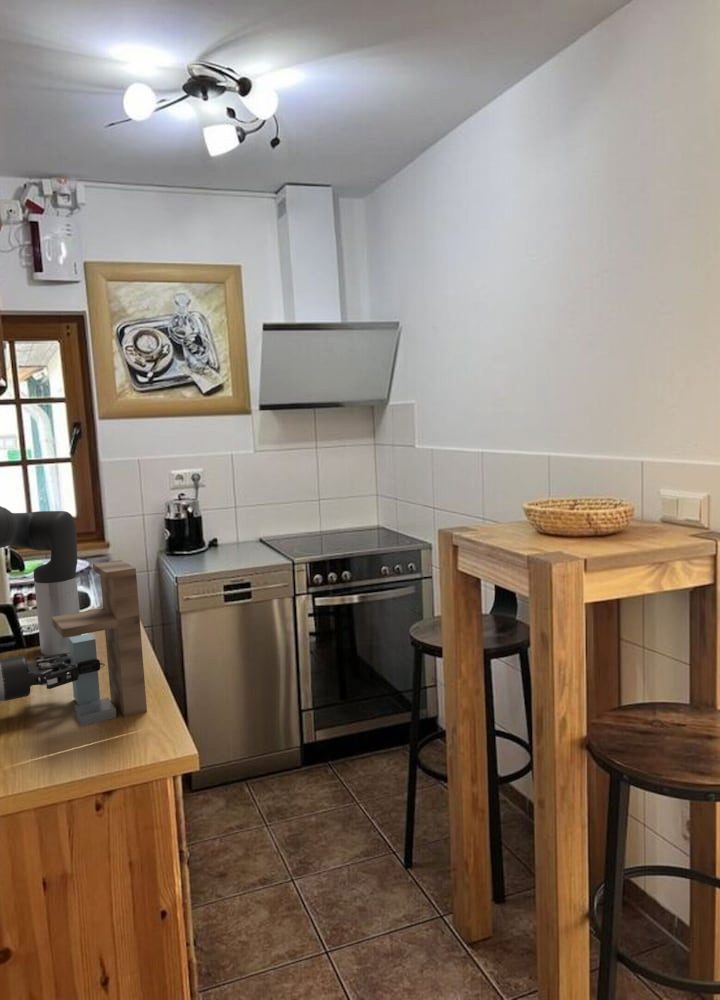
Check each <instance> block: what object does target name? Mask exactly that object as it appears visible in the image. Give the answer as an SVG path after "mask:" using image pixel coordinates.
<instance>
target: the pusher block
mask: <svg viewBox="0 0 720 1000" xmlns="http://www.w3.org/2000/svg"><path fill="white" fill-rule="evenodd" d="M96 642H97V641H96V638H95V637H94V636H93V635H92V633H86V634H81V635H80V636H75V637H70V638H69V646H70V653H69V655H70V658H71V663H79V662H83V661H88V660H93V659H98V656H97V643H96ZM99 681H100V680H99V671H95V672H90V673H86V674H81V675H80V676H79V677H78V680H76V681H73V682H72V691H73V693H72V694H73V699H74V700H75V701H76V703H77V705H78V704H82V703H87V702H91V701H95V700H100V699H101V696H100V695H101V694H100V692H101V691H100V682H99Z"/></svg>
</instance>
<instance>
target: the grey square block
mask: <svg viewBox="0 0 720 1000" xmlns="http://www.w3.org/2000/svg"><path fill="white" fill-rule="evenodd" d="M74 714H75V716H76V718H77V720H78V722H79V724H80V725H81V726H82V727H83V726H86V725H90V724H95V723H98V722H103V721H107V720H112V719H115V718H117V707H116V706H115V705H114V703H113V702H112V701H111V698H109V697H104V698H100V699H99V700H94V701H90V702H86V703H82V704H78V703H77V704H75V705H74Z"/></svg>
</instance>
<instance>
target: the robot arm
mask: <svg viewBox="0 0 720 1000" xmlns="http://www.w3.org/2000/svg"><path fill="white" fill-rule="evenodd" d="M77 539H78V535H77V526H76V521H75V519H74V517H73V515H72V514H71V513H70V512H68V511H63V510H42V511H41V510H39V511H38V510H37V511H31V512H11V510H9V509H7V508H6V507H3V506H1V505H0V549H2V548H5V547H8V546H11V547H17V548H23V549H27V550H33V551H40V552H41V551H44V552H45V551H47V552H48V551H50V560H49V561H48V562H47V563H45V564H42V565H39V566H37V567H35V569H34V570H33V582H34V583H33V584H34V593H35V602H36V603H35V604H36V614H37V621H38V622H37V623H38V624H37V625H38V634H39V645H40V653H41V654H42V655H37V656H34V662H33V661H32V662H29V663H28V662H27V658H26V657H25V656H24V655H17V656H13V657H7V658H1V659H0V703H3V702H7V701H13V700H16V699H22V698H26V697H29V695H30V694H31V687H32V686H46V689H47V690H51V689H54V688H56V687H60V686H64V685H67V684H69V683H73V681H76V680H78V677H79V676H80V675H81V674H86V673H90V672H95V671H98V672H99V671H100V670H101V664H100V663H101V661H100V659H98V658H97V659H93V660H88V661H83V662H79V663H71V658H70V646H69V638H70V637H75V636H70V637H65V638H63V637H62V636H61V635H60V634H59V632H58V631H57V630H56V629H55V628H54V627H53V625H52V618H51V617H54V616H60V615H66V614H71V613H77V612H81V611H80V603H79V601H80V600H79V592H78V591H79V590H78V581H77V566H78V540H77ZM76 636H80V635H76ZM69 672H71V674H69Z"/></svg>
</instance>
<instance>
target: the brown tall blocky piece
mask: <svg viewBox="0 0 720 1000" xmlns="http://www.w3.org/2000/svg"><path fill="white" fill-rule="evenodd" d="M92 570H93V572H95V573H96V574H98V575H100V586H101V587H100V588H101V599H102V607H101V608H97V609H96V608H95V609H90V610H84V611H80V612H77V613H71V614H66V615H60V616H54V617H51V618H52V625H53V627H54V628H55V629H56V630H57V631H58V632H59V634H60V635H61V636H62V637H63V638H65V637H70V636H76V635H86V634H92V633H96V632H97V633H98V632H102V631H104V633H105V636H104V637H105V644H106V646H105V647H106V659H107V670H108V671H107V672H108V680H109V684H108V685H109V692H110V693H109V695H110V701H111V702H112V703H113V705H114V706H115V708H116V709H117V710H118V711H119V712H120V713H121V715H123V717H124V718H127V717H131V716H136V715H140V714H144V713H147V712H148V707H147V706H148V704H147V696H146V695H147V693H146V682H145V669H144V668H145V667H144V657H143V656H144V655H143V645H142V632H141V618H140V606H139V594H138V591H139V590H138V580H137V569H136V567H134V566H132V565H131V564H129V563H128V562H126V561H124V560H122V559H118V560H111V561H103V562H97V563H96V562H95V563H92Z"/></svg>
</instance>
